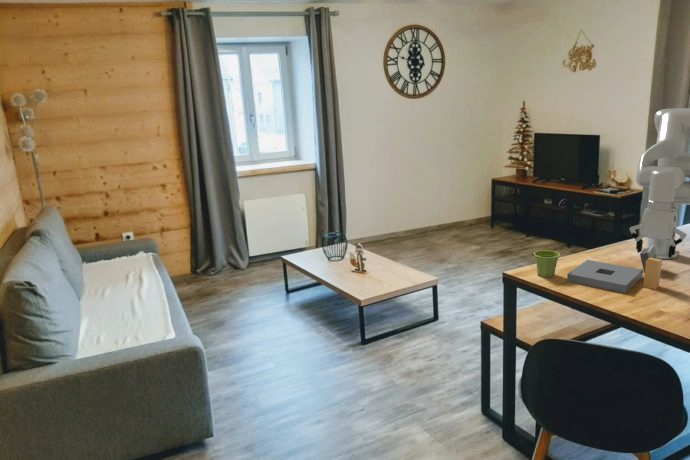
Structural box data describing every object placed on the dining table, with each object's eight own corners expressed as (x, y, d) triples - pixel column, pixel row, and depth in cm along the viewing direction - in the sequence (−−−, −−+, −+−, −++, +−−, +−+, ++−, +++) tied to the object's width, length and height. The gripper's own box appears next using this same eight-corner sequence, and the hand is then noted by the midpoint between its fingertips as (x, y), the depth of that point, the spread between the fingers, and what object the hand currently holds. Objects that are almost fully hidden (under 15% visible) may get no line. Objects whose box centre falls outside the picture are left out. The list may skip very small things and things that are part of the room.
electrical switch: (655, 275, 194) (655, 251, 193) (639, 274, 198) (639, 251, 196) (659, 268, 202) (659, 245, 200) (644, 267, 205) (644, 244, 203)
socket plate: (586, 266, 207) (587, 259, 206) (642, 277, 193) (643, 269, 193) (567, 281, 193) (567, 273, 192) (625, 293, 180) (626, 285, 179)
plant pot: (532, 278, 198) (533, 256, 196) (533, 270, 207) (534, 249, 204) (558, 280, 195) (560, 258, 192) (558, 271, 203) (559, 250, 201)
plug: (646, 283, 187) (649, 257, 185) (659, 286, 184) (662, 259, 182) (643, 286, 184) (646, 260, 182) (655, 289, 182) (659, 262, 179)
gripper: (692, 207, 173) (686, 255, 177) (635, 201, 185) (630, 247, 189) (687, 210, 168) (680, 261, 172) (629, 205, 180) (624, 252, 184)
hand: (654, 253), depth 181 cm, fingers open, 9 cm apart
